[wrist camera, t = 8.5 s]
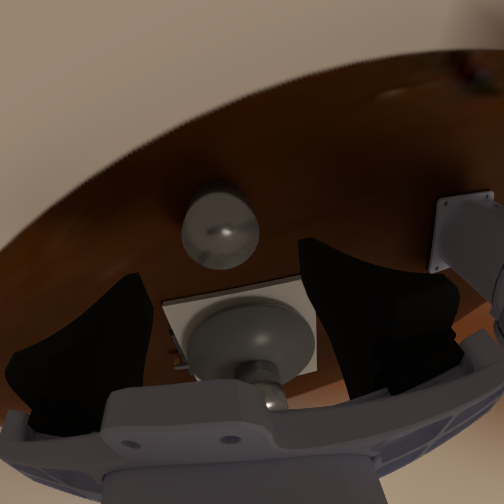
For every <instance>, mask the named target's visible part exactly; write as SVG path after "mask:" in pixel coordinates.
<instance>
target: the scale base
mask: <svg viewBox="0 0 504 504" xmlns="http://www.w3.org/2000/svg"><path fill="white" fill-rule="evenodd" d="M253 302H263V303H272V304H278V305H281V306H285V307H287V308H290V309H292V310H294V311H295V312H297V313H299V314H300V315H301V316H302V317H304V319H305V320H306V321H307V322H308V324H309V325H310V327H311V329H312V332H313V334H314V337H315V350H314V354H313V356H312V358H311V360H310V362H309V363H308V365H307V366H306V367H305V369H304V370H303V371H302V372H301V373H300V374H298V375H301V374H306V373H310V372H313V371H317V359H316V312H315V310H314V308H313V306H312V304H311V302H310V300H309V298H308V296H307V294H306V291H305V288H304V286H303V283H302V280H301V275H297V276H292V277H287V278H283V279H278V280H273V281H268V282H264V283H259V284H254V285H249V286H244V287H239V288H234V289H229V290H224V291H218V292H213V293H208V294H203V295H197V296H192V297H186V298H181V299H175V300H170V301H164V302H163V306H162V307H163V309H164V312H165V314H166V316H167V319H168V321H169V323H170V325H171V328H172V330H171V337H172V339H173V341H174V344H175V346H176V348H177V350H178V352H179V354H180V356H181V358H182V360H183V362H184V363H185V362H187V344H188V340H189V337H190V335H191V333H192V332H193V330H194V329H195V328H196V327H197V325H198V324H199V323H200V322H202V321H203V320H204V319H205V318H207V317H208V316H210V315H211V314H213V313H215V312H217V311H219V310H221V309H224V308H227V307H230V306H233V305H237V304H243V303H253ZM187 369H188V371H189V373H190V375H191V376H193V375H195V374H194V373H193V372H192V370H191V369H190V368H187ZM195 377H196V375H195ZM196 379H197V381H201V380H200V379H199V378H198V377H196Z"/></svg>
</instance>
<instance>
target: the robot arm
mask: <svg viewBox="0 0 504 504" xmlns="http://www.w3.org/2000/svg"><path fill="white" fill-rule="evenodd" d="M493 199H494V192H493V191H483V192H476V193H470V194H463V195H457V196H450V197H444V198H440V199H438V201H437V205H436V216H435V226H434V234H433V242H432V249H431V255H430V261H429V267H428V271H429V272H430V273H414V272H406V271H399V270H394V269H389V268H385V267H381V266H377V265H374V264H370V263H367V262H364V261H361V260H359V259H356V258H354V257H351V256H349V255H347V254H344V253H342V252H340V251H338V250H336V249H334V248H332V247H330V246H328V245H326V244H324V243H322V242H320V241H318V240H316V239H314V238H306V239H301V240H298V249H299V260H300V271H301V280H302V283H303V286H304V288H305V291H306V294H307V296H308V298H309V300H310V302H311V304H312V306H313V308H314V310H315V312H316V313H317V315H318V317H319V319H320V321H321V323H322V325H323V326H324V328H325V330H326V332H327V334H328V336H329V339H330V341H331V344H332V346H333V349H334V352H335V354H336V357H337V360H338V363H339V366H340V369H341V372H342V375H343V378H344V381H345V384H346V387H347V391H348V394H349V398H350V401H346V402H343V403H340V404H336V405H333V406H326V407H316V408H305V409H291V410H269V409H268V407H267V405H266V401H265V397H264V395H263V394H262V393H261V391H260V390H259V389H258V388H257V387H256V386H255V385H252V384H249V383H246V382H243V381H240V380H237V379H211V380H204V381H196V382H188V383H180V384H170V385H159V386H146V387H143V372H144V365H145V360H146V355H147V350H148V345H149V340H150V336H151V331H152V325H153V309H154V308H153V306H152V303H151V301H150V299H149V296H148V294H147V292H146V289H145V287H144V285H143V282H142V280H141V277H140V275H139V272H138V273H133V274H129V275H126V276H124V277H123V278H122V279H121V280H119V281H118V282H117V283H116V284H115V285H114V286H113V287H112V288H111V289H110V290H108V291H107V292H106V293H105V294H104V295H103V296H102V297H101V298H100V299H99V300H98V301H97V302H96V303H94V304H93V305H92V306H91V307H90V308H89V309H88V310H87V311H86V312H84V313H83V314H82V315H81V316H79V317H78V318H77V319H76V320H74V321H73V322H72V323H70V324H69V325H67V326H66V327H64V328H63V329H61V330H60V331H58V332H57V333H55V334H53V335H52V336H50V337H48V338H46V339H45V340H43V341H41V342H39V343H37V344H35V345H33V346H30V347H28V348H25V349H23V350H21V351H18V352H15V353H14V354H13V356H12V358H11V359H10V361H9V363H8V365H7V367H6V369H5V377H6V380H7V382H8V384H9V386H10V387H11V388H12V389H13V391H14V392H15V393H16V394H17V395H18V396H19V397H20V398H21V399H22V400H23V401H24V402H25V403H26V404H27V405H28V406H29V407H30V408H31V409H32V411H31V414H30V415H29V414H27V413H25V412H21V411H16V410H11V409H10V410H9V411H8V413H7V416H6V419H5V421H4V424H3V427H2V430H1V433H0V459H2V460H3V461H4V462H6V463H7V464H9V465H10V466H11V467H13V468H15V469H16V470H17V471H19V472H21V473H22V474H24V475H25V476H27V477H28V478H30V479H32V480H33V481H35V482H38V483H41V484H43V485H46V486H49V487H52V488H55V489H58V490H61V491H64V492H67V493H70V494H73V495H76V496H79V497H82V498H86V499H89V500H93V501H97V502H100V503H101V504H388V503H387V500H386V498H385V495H384V492H383V489H382V487H381V484H380V481H379V478H381V477H383V476H385V475H388V474H390V473H392V472H394V471H396V470H397V469H400V468H402V467H404V466H405V465H407V464H409V463H411V462H413V461H415V460H416V459H418V458H420V457H422V456H423V455H425V454H427V453H428V452H430V451H432V450H433V449H435V448H436V447H438V446H440V445H441V444H443V443H445V442H446V441H447V440H449V439H451V438H452V437H454V436H455V435H457V434H458V433H460V432H461V431H462V430H464V429H465V428H467V427H468V426H470V425H471V424H472V423H474V422H475V421H477V420H478V419H479V418H481V417H482V416H483V415H485V414H486V413H487V412H489V411H490V410H491V409H492V408H493V406H494V405H495V404H496V402H497V401H498V400H499V399H500V398H501V396H502V395H503V394H504V206H503V205H501V204H499V203H497V202H495V201H493ZM444 203H445V204H444ZM450 267H451V268H452V269H453V270H454V271H455V272H456V273H458V274H459V275H460V276H461V277H462V278H463V279H464V280H465V281H466V282H468V283H469V284H470V285H471V286H472V287H473V288H474V289H475V290H476V291H477V292H478V293H479V294H481V295H482V296H483V297H484V298H485V299H486V300H487V301H488V302H489V303H490V304H491V305H492V308H491V310H490V314H491V315H492V316H493V317H494V318H495V319H496V320H495V322H494V333H495V335H496V339H497V342H498V343H499V345H500V346H499V345H498V344H497V343H496V342H495V340H494V339H493V338H492V337H491V336H490V335H489V334H488V332H487V331H486V330H485V329H481V330H479V331H477V332H476V333H474V334H472V335H470V336H469V337H467V338H465V339H464V340H463V341H462V342H461V343H460V344H459V345H458V344H457V343H456V341H455V340H454V339H455V337H456V333H455V332H454V331H453V329H452V328H451V327H452V324H453V321H454V318H455V315H456V313H457V310H458V306H459V301H460V293H459V290H458V288H457V287H456V286H455V285H454V284H453V283H452V282H451V281H450V280H449V279H448V278H447V277H446V276H445V275H444V274H431V273H435V272H438V271H441V270H444V269H447V268H450ZM501 348H502V349H501Z"/></svg>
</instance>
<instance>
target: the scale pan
mask: <svg viewBox="0 0 504 504" xmlns="http://www.w3.org/2000/svg"><path fill="white" fill-rule="evenodd" d="M314 350H315V337H314V334H313V332H312V329H311V327H310V325H309V324H308V322H307V321H306V320H305V319H304V317H302V316H301V315H300V314H299V313H297V312H295V311H294V310H292V309H290V308H287V307H285V306H281V305H278V304H272V303H263V302H253V303H243V304H237V305H233V306H230V307H227V308H224V309H221V310H219V311H217V312H215V313H213V314H211V315H210V316H208V317H207V318H205V319H204V320H203V321H202V322H200V323H199V324H198V325H197V327H196V328H195V329H194V330H193V332H192V333H191V335H190V337H189V340H188V344H187V362H185V363H179V359H178V357H177V358H175V360H174V368H175V370H177V369H185V368H190V369H191V370H192V372H193V373H194V374H195V375H196V377H198V378H199V379H200V380H201V381H204V380H211V379H233V373H234V371H235V369H236V368H237V367H238V366H240V365H241V364H243V363H245V362H248V361H252V360H268V361H271V362H273V363H275V364H276V365H277V366H278V368H279V372H280V376H281V380H282V384H284V383H286V382H288V381H290V380H291V379H293V378H294V377H296V376H297V375H298V374H300V373H301V372H302V371H303V370H304V369H305V367H306V366H307V365H308V363H309V362H310V360H311V358H312V356H313V354H314Z"/></svg>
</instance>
